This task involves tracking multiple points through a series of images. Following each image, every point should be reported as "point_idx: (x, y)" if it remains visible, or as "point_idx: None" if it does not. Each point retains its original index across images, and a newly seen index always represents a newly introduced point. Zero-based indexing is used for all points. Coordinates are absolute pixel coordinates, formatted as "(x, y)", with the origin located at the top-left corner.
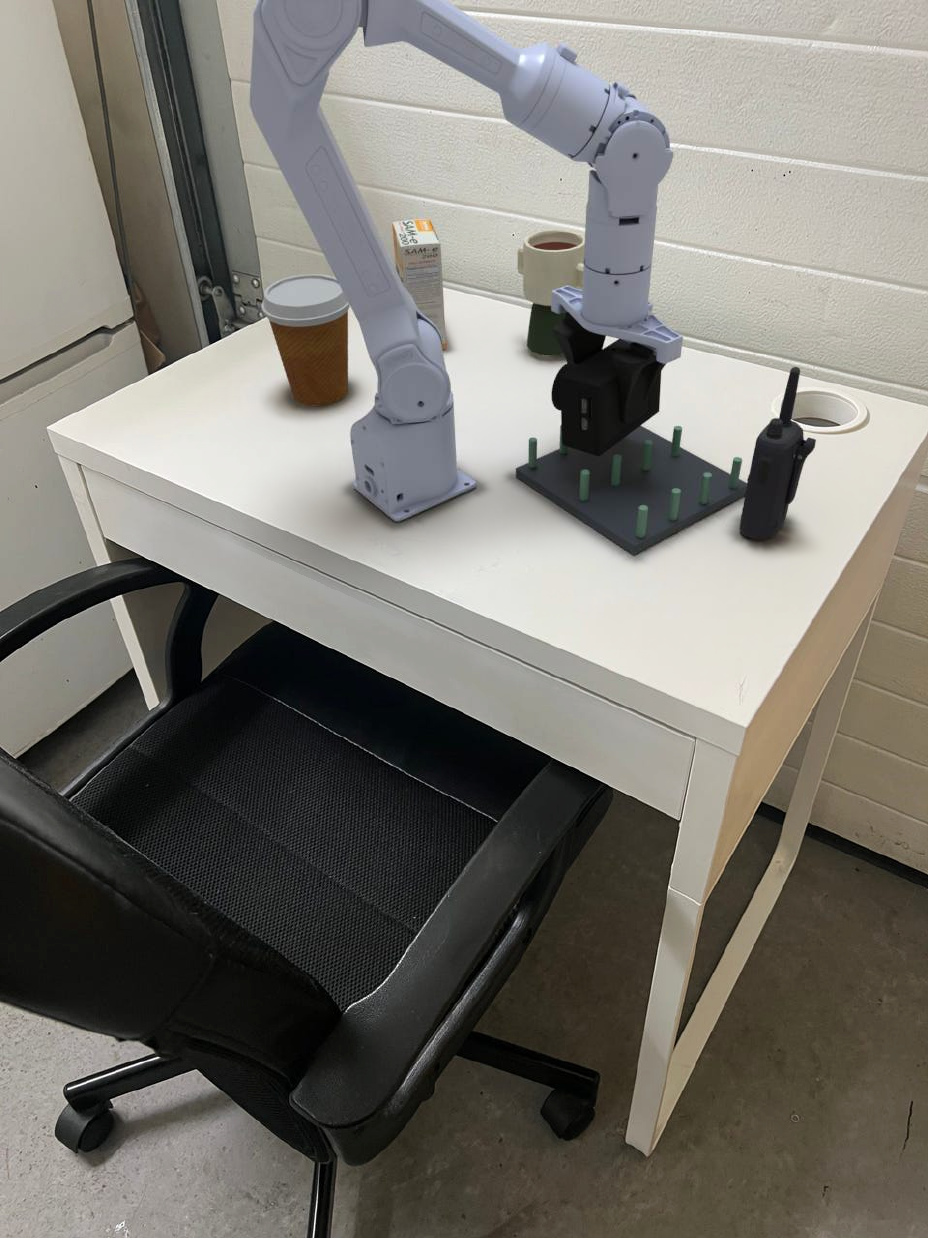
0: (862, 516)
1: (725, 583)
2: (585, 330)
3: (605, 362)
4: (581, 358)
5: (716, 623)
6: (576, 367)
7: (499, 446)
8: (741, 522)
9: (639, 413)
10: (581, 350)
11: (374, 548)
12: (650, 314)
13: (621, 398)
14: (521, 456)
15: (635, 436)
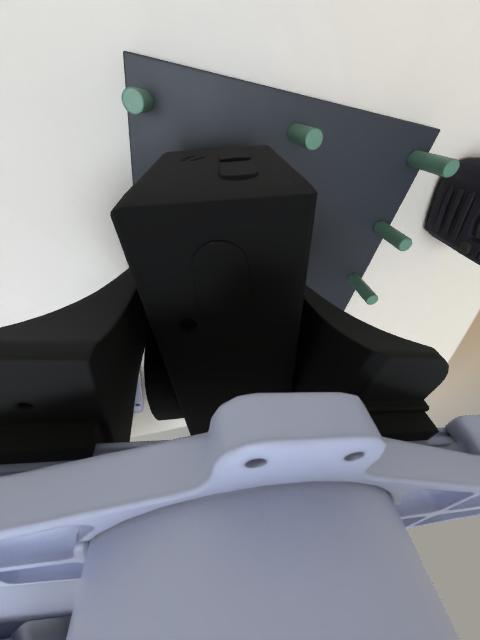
0: None
1: (417, 300)
2: (117, 432)
3: (227, 380)
4: (135, 363)
5: (415, 336)
6: (190, 417)
7: (60, 283)
8: (434, 235)
9: None
10: (132, 384)
11: (160, 423)
12: (406, 489)
13: None
14: (105, 280)
15: (197, 123)
